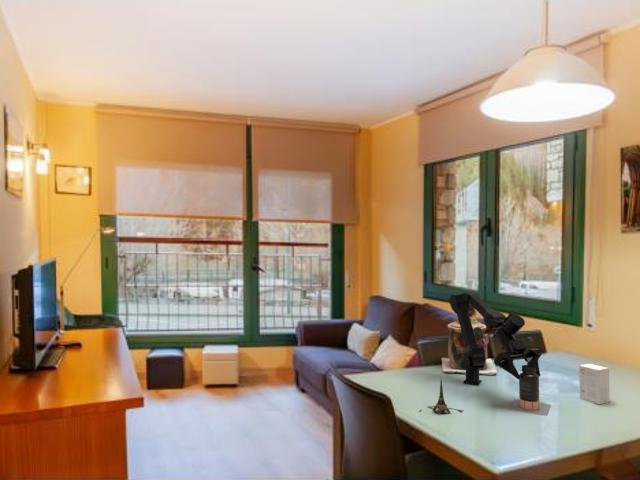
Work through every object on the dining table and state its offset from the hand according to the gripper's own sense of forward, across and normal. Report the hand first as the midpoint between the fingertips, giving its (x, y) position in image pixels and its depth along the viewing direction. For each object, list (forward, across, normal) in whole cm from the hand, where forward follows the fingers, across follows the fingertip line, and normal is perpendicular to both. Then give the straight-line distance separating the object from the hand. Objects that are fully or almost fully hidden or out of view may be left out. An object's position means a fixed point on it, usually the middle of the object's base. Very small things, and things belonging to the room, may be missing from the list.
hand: (529, 377), depth 176 cm
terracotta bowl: (+8, 0, +8) cm, 11 cm away
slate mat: (+8, 0, +8) cm, 11 cm away
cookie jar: (-30, +13, +46) cm, 56 cm away
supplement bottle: (+6, 0, +6) cm, 8 cm away
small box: (+10, +29, +6) cm, 31 cm away
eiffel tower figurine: (+3, -32, +14) cm, 35 cm away
